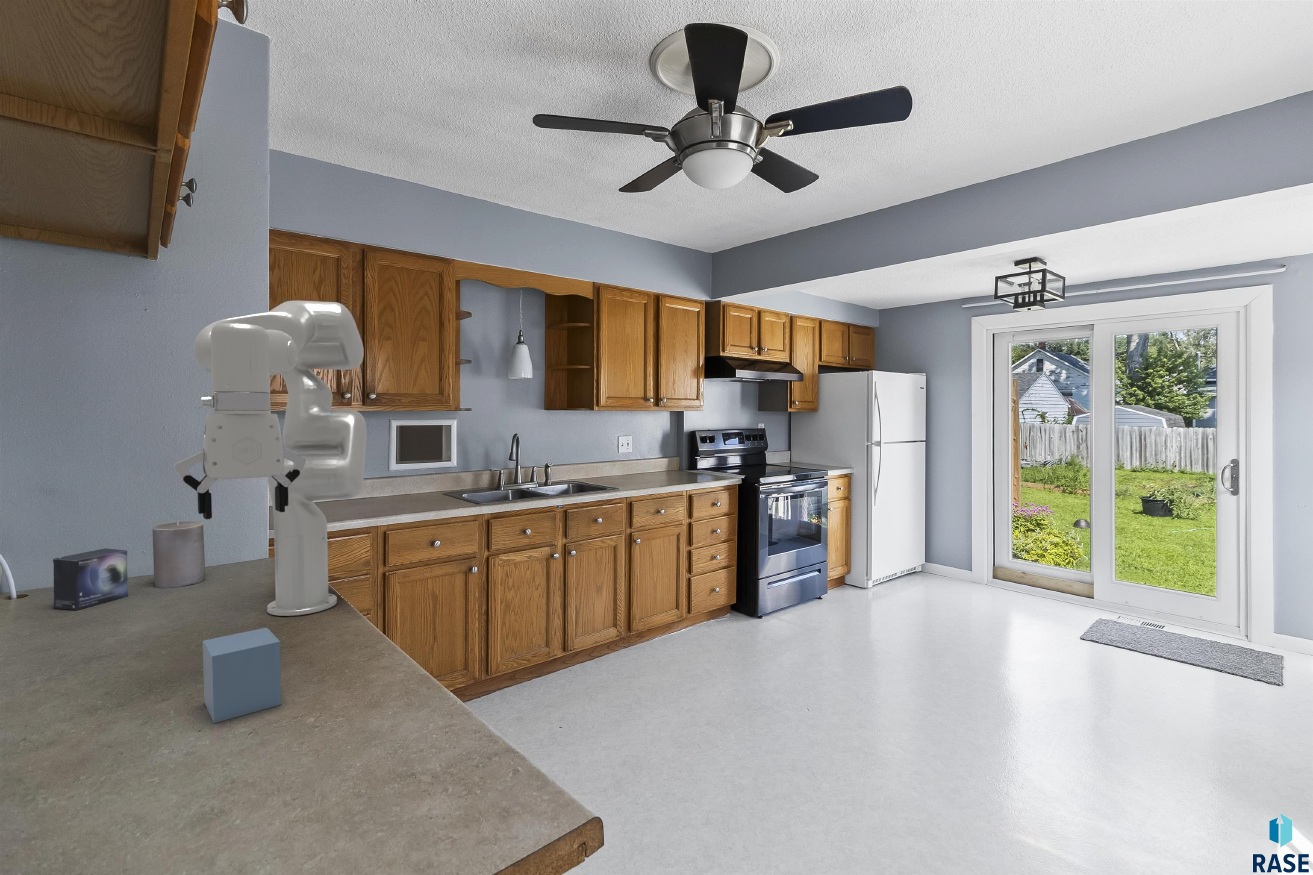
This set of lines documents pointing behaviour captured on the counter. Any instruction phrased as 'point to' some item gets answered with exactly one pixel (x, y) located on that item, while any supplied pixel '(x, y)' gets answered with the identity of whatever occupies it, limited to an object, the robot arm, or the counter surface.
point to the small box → (90, 578)
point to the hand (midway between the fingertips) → (245, 514)
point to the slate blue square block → (241, 674)
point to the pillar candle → (178, 554)
